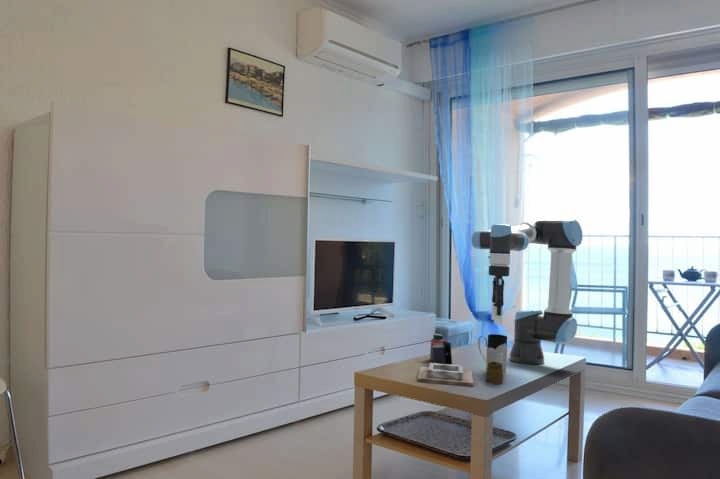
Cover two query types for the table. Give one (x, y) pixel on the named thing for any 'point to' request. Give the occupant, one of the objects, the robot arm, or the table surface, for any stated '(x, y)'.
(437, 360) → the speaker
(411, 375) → the table surface
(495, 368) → the utensil holder
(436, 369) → the socket plate
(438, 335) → the supplement bottle
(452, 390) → the table surface
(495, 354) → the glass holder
